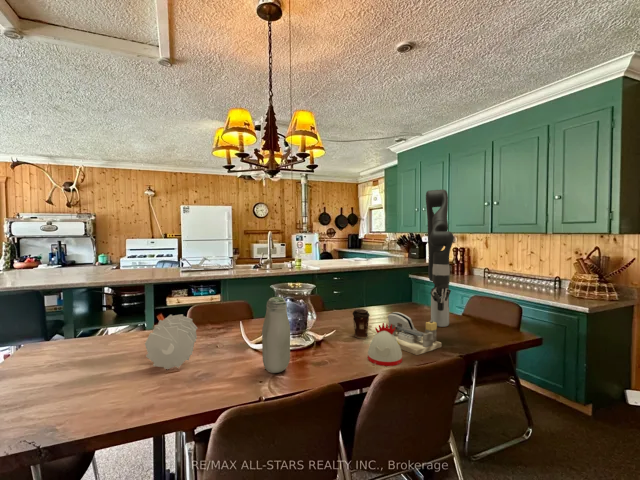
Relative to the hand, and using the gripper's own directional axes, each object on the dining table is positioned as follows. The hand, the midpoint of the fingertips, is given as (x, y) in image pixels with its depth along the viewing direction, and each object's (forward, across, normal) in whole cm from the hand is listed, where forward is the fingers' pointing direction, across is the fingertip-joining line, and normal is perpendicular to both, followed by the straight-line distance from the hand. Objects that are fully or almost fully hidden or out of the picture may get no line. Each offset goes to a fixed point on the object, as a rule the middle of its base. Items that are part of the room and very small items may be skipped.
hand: (440, 310), depth 153 cm
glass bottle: (+16, +78, -16) cm, 81 cm away
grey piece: (+16, -1, -25) cm, 29 cm away
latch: (+8, +7, 0) cm, 10 cm away
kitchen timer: (+16, +36, -1) cm, 39 cm away
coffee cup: (+16, +25, -28) cm, 41 cm away
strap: (+10, +13, -7) cm, 18 cm away
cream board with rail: (+15, +13, -7) cm, 22 cm away
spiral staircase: (+16, +108, -49) cm, 120 cm away
